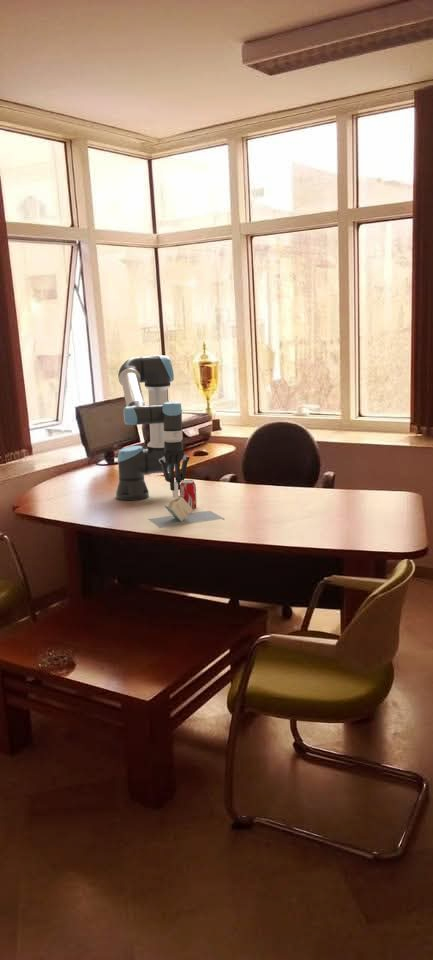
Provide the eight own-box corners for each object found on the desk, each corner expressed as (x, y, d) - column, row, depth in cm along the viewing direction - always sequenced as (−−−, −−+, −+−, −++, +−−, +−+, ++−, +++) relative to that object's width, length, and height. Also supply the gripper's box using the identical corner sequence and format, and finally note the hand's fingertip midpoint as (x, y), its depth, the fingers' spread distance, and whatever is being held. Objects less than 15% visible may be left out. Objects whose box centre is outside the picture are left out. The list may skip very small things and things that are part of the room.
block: (164, 506, 316) (176, 494, 317) (174, 518, 319) (186, 506, 320) (170, 510, 310) (183, 498, 311) (180, 522, 313) (193, 510, 314)
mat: (147, 519, 318) (147, 519, 318) (209, 511, 329) (209, 510, 329) (159, 528, 305) (159, 527, 305) (224, 519, 316) (224, 518, 316)
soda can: (194, 510, 331) (193, 483, 329) (178, 510, 333) (177, 482, 330) (198, 506, 338) (197, 479, 336) (182, 506, 340) (181, 479, 337)
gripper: (161, 443, 303) (163, 501, 308) (191, 440, 308) (193, 497, 313) (154, 440, 309) (157, 497, 314) (185, 438, 314) (187, 494, 319)
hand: (175, 497), depth 313 cm, fingers closed
